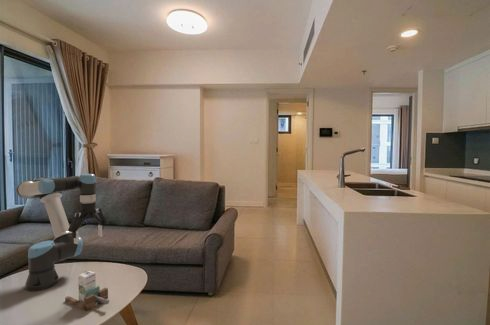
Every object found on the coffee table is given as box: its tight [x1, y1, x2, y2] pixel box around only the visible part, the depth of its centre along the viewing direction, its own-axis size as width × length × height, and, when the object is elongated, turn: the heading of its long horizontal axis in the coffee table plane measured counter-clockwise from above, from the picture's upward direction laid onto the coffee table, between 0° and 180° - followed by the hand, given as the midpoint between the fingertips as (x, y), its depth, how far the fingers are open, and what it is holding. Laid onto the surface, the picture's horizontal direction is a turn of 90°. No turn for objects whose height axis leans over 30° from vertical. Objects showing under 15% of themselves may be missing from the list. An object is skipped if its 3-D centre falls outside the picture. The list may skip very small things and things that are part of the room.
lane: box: [64, 287, 109, 312], centre depth 137 cm, size 18×11×6 cm, turn 62°
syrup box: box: [77, 270, 97, 303], centre depth 136 cm, size 6×6×14 cm
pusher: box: [84, 285, 110, 305], centre depth 132 cm, size 13×7×7 cm, turn 62°
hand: (88, 239), depth 150 cm, fingers open, 13 cm apart
